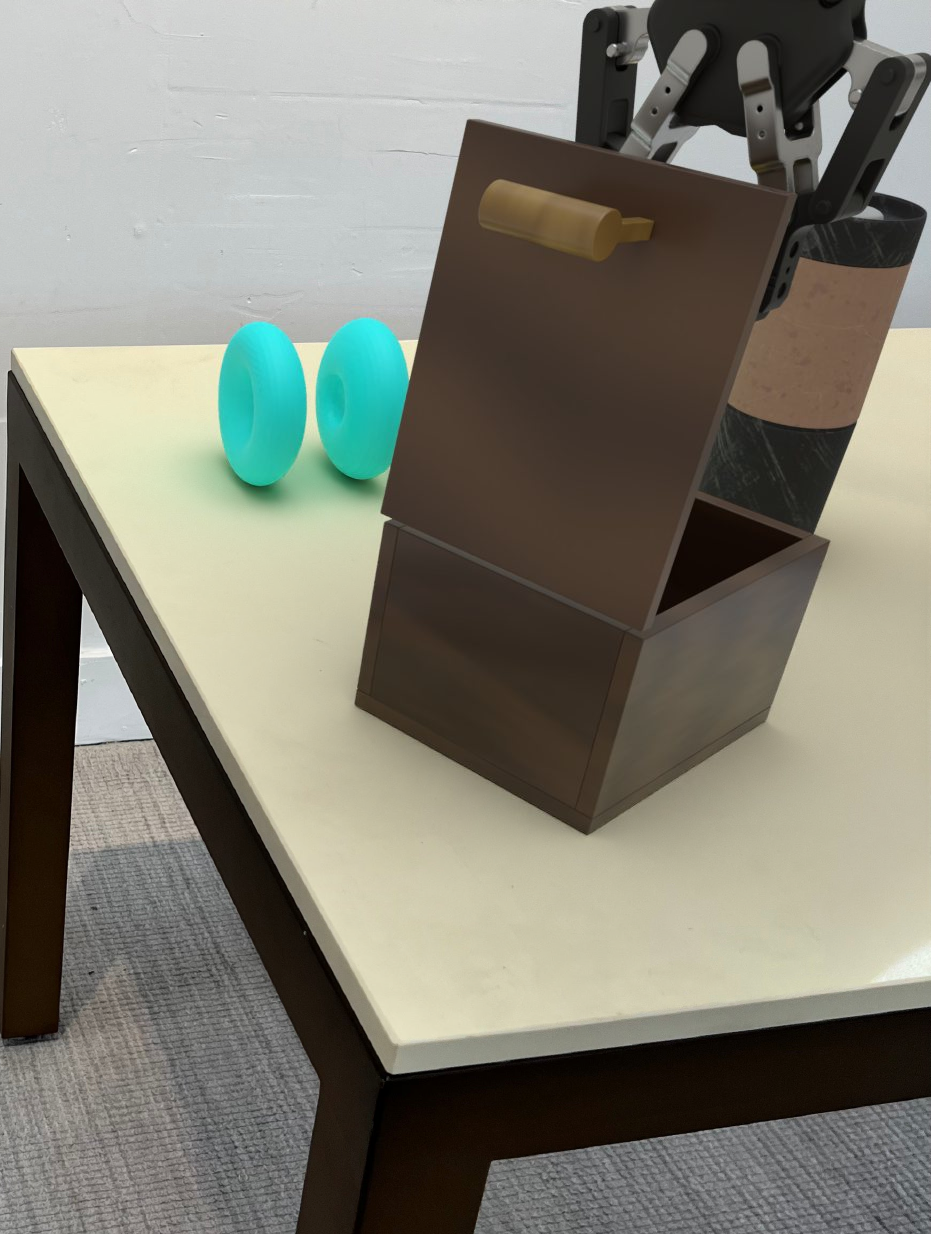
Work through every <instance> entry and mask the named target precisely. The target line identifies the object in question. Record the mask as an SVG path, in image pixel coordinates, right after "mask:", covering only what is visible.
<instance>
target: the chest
mask: <svg viewBox="0 0 931 1234" xmlns="http://www.w3.org/2000/svg"><path fill="white" fill-rule="evenodd" d="M830 544H831V540H830V539H828V538H826V537H822V536H820V535H817V534H815V533H814V534H811V533H809V532H806V531H803V530H801V529H798V528H796V527H793V526H790V525H788V524H785V523H782V522H780V521H777V520H774V519H772V518H769V517H767V516H764V515H761V514H759V513H756V512H753V511H751V510H748V509H745V508H743V507H740V506H737V505H735V504H732V503H730V502H727V501H724V500H722V499H719V498H716V497H714V496H711V495H708V494H706V493H703V492H700V491H697V494H696V497H695V500H694V503H693V506H692V509H691V512H690V515H689V518H688V521H687V524H686V527H685V530H684V532H683V535H682V538H681V541H680V544H679V547H678V550H677V553H676V556H675V559H674V562H673V565H672V568H671V571H670V574H669V577H668V580H667V583H666V586H665V589H664V592H663V595H662V597H661V600H660V603H659V606H658V609H657V612H656V615H655V618H654V621H653V624H652V627H651V628H650V629H647V630H645V631H639V630H636V629H634V628H632V627H630V626H628V625H625V624H623V623H621V622H619V621H617V620H614V619H612V618H610V617H608V616H606V615H603V614H601V613H599V612H597V611H595V610H592V609H590V608H588V607H586V606H583V605H581V604H579V603H577V602H575V601H572V600H570V599H568V598H566V597H564V596H561V595H559V594H557V593H555V592H553V591H550V590H548V589H546V588H544V587H542V586H539V585H537V584H535V583H533V582H531V581H528V580H526V579H524V578H522V577H520V576H517V575H515V574H513V573H511V572H509V571H506V570H504V569H502V568H500V567H498V566H495V565H493V564H491V563H489V562H486V561H484V560H482V559H480V558H478V557H475V556H473V555H471V554H469V553H467V552H464V551H462V550H460V549H458V548H456V547H453V546H451V545H449V544H447V543H445V542H442V541H440V540H438V539H436V538H434V537H431V536H429V535H427V534H425V533H423V532H420V531H418V530H416V529H414V528H412V527H409V526H407V525H405V524H403V523H400V522H398V521H396V520H394V519H392V518H390V519H388V520H384V522H383V526H382V532H381V538H380V544H379V551H378V557H377V563H376V569H375V575H374V580H373V581H374V582H373V586H372V593H371V599H370V605H369V611H368V619H367V623H366V624H367V625H366V630H365V636H364V642H363V647H362V654H361V659H360V660H361V661H360V667H359V673H358V679H357V686H356V691H355V698H354V705H355V706H357V707H359V708H361V709H363V710H364V711H366V712H368V713H369V714H371V715H373V716H374V717H376V718H378V719H380V720H381V721H383V722H386V723H387V724H389V725H391V726H392V727H395V728H396V729H398V730H400V731H401V732H404V733H405V734H407V735H409V736H411V737H412V738H414V739H416V740H418V741H420V742H421V743H423V744H425V745H426V746H428V747H430V748H432V749H434V750H435V751H437V752H439V753H440V754H443V755H445V756H446V757H448V758H449V759H452V760H453V761H455V762H457V763H458V764H460V765H462V766H464V767H466V768H467V769H469V770H471V771H472V772H475V773H476V774H478V775H480V776H482V777H483V778H485V779H487V780H489V781H490V782H492V783H495V784H496V785H497V786H499V787H502V788H503V789H505V790H507V791H509V792H510V793H512V794H514V795H516V796H517V797H519V798H521V799H523V800H524V801H526V802H529V804H532V805H533V806H535V807H536V808H539V809H541V810H542V811H544V812H546V813H548V814H549V815H551V816H553V817H555V818H557V819H558V820H560V821H562V822H564V823H566V824H567V825H569V826H571V827H572V828H575V830H578V831H579V832H582V833H583V834H585V835H590V834H591V833H592V832H594V831H596V830H597V829H598V828H600V827H602V826H603V825H605V824H606V823H608V822H610V821H612V819H614V818H616V817H618V816H619V815H620V814H622V813H624V812H625V811H627V810H628V809H629V808H631V807H633V806H635V804H638V803H639V802H641V801H642V800H644V799H645V798H647V797H648V796H650V795H652V794H653V793H655V792H656V791H657V790H660V789H661V788H663V787H664V786H666V785H667V784H669V783H670V782H672V781H674V780H675V779H677V778H678V777H679V776H681V775H683V774H684V773H686V772H687V771H689V770H690V769H692V768H694V767H695V766H697V765H698V764H700V763H702V762H703V761H704V760H706V759H708V758H709V757H710V756H712V755H714V754H716V753H717V752H719V751H720V750H722V749H724V747H726V746H728V745H730V744H732V743H733V742H735V741H736V740H738V739H739V738H740V737H742V736H744V735H745V734H747V733H748V732H750V731H751V730H753V729H754V728H756V727H757V726H759V725H761V724H762V723H763V722H765V721H767V720H768V717H769V714H770V711H771V709H772V705H773V704H774V701H775V698H776V695H777V692H778V689H779V687H780V684H781V681H782V678H783V676H784V673H785V670H786V667H787V664H788V661H789V659H790V656H791V653H792V652H793V651H792V650H793V647H794V645H795V642H796V639H797V636H798V633H799V631H800V628H801V625H802V623H803V621H804V620H803V619H804V617H805V615H806V611H807V609H808V605H809V603H810V600H811V598H812V594H813V591H814V590H815V586H816V583H817V580H818V578H819V575H820V572H821V570H822V567H823V563H824V561H825V558H826V555H827V553H828V550H829V547H830Z"/></svg>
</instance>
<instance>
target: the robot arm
mask: <svg viewBox="0 0 931 1234" xmlns="http://www.w3.org/2000/svg"><path fill="white" fill-rule="evenodd" d="M866 2H867V0H654V1H653V2H652V4H651V6H649V7H637V6H635V5H631V4H629V5H628V4H627V5H621V4H620V5H618V4H617V5H608V6H603V7H599V8H597V7H596V8H592V9H591V10H590V11H589V12H588V13H586V15H585V17H584V19H583V22H582V28H581V30H582V31H581V43H580V45H581V46H580V59H579V75H578V89H577V90H578V91H577V105H576V122H575V135H574V142H579V143H583V144H587V145H591V146H596V147H600V148H604V149H608V150H613V151H617V152H621V153H625V154H630V155H634V156H638V157H642V158H647V159H651V160H655V161H659V162H664V163H668V164H671V163H672V162H673V161H674V159H675V157H676V156H677V154H678V152H680V150H681V149H682V147H683V145H684V144H685V143H686V142H687V141H689V140H690V139H691V138H693V137H694V136H695V135H696V133H697V132H698V131H699V130H700V128H701V127H711V126H715V127H717V128H720V129H721V130H723V131H724V132H726V133H728V134H730V135H731V136H736V137H740V138H746V142H747V143H746V144H747V154H748V155H747V156H748V163H749V166H750V169H751V170H752V171H754V173H755V175H756V181H757V185H762V186H766V187H770V188H774V189H779V190H783V191H787V192H791V193H796V194H797V199H796V201H795V204H794V207H793V210H792V213H791V216H790V219H789V222H788V225H787V228H786V231H785V234H784V237H783V240H782V243H781V246H780V249H779V252H778V255H777V258H776V261H775V264H774V266H773V269H772V272H771V275H770V278H769V281H768V284H767V287H766V290H765V293H764V296H763V299H762V302H761V305H760V308H759V311H758V314H757V317H756V320H755V322H756V321H759V320H762V319H764V318H765V317H766V316H767V315H768V314H769V312H770V311H771V310H774V309H776V308H779V307H780V306H781V305H782V304H783V302H784V301H785V300H786V298H787V297H788V294H789V291H790V288H791V284H792V281H793V278H794V275H795V271H796V268H797V265H798V261H799V258H800V255H801V252H802V248H803V245H804V242H805V239H806V236H807V233H808V232H809V230H810V229H811V228H812V227H813V226H814V225H815V224H827V223H831V222H834V221H838V220H841V219H845V218H848V217H852V216H855V215H858V214H860V213H862V212H863V211H864V210H865V209H866V207H867V206H868V204H869V202H870V200H871V198H872V196H873V194H874V192H876V190H877V188H878V186H879V184H880V182H881V181H882V178H883V177H884V174H885V172H886V170H887V169H888V166H889V165H890V163H891V160H892V159H893V157H894V155H895V153H896V151H897V149H898V147H899V145H900V143H901V141H902V139H903V137H904V136H905V133H906V131H907V129H908V127H909V125H910V124H911V121H912V120H913V117H914V116H915V113H916V112H917V110H918V108H919V106H920V104H921V102H922V100H923V98H924V96H925V94H926V93H927V90H928V88H929V86H930V84H931V54H929V53H927V52H915V53H909V54H903V53H901V52H898V51H896V50H894V49H892V48H888V47H886V46H884V45H881V44H878V43H876V42H873V41H871V40H869V39H868V28H867V23H866ZM649 43H650V46H651V49H652V52H653V55H654V59H655V62H656V65H657V68H658V73H659V78H658V79H657V81H656V82H655V84H654V86H653V87H652V89H651V91H650V92H649V93H648V95H647V96H646V98H645V100H644V101H643V103H642V105H641V107H640V108H639V109H638V111H637V112H636V114H635V102H636V89H637V78H638V77H637V76H638V63H639V62H641V60H643V58H644V57H645V54H646V52H647V51H648V50H649ZM847 73H848V74H849V76H850V79H851V81H850V83H851V84H850V88H849V91H848V95H847V101H848V105H849V107H850V108H851V110H852V111H853V112H852V114H851V116H850V118H849V120H848V122H847V123H846V126H845V128H844V131H843V132H842V135H841V136H840V138H839V141H838V143H837V144H836V147H835V149H834V151H833V153H832V155H831V158H830V159H829V161H828V163H827V166H826V167H825V170H824V172H823V174H822V176H821V178H819V177H820V176H819V165H818V164H819V162H818V161H819V157H820V156H821V153H822V150H823V133H822V132H823V131H822V118H821V117H822V116H821V105H820V103H821V102H820V99H821V98H822V97H823V96H824V95H825V94H826V93H827V92H829V90H830V89H831V88H832V87H833V86H835V84H837V83H838V82H839V81H840V80H841V79H842V78H843V77H844V76H845V75H846V74H847ZM634 115H635V116H634Z"/></svg>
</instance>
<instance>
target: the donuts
mask: <svg viewBox="0 0 931 1234" xmlns="http://www.w3.org/2000/svg"><path fill="white" fill-rule="evenodd" d="M402 348H403V347H402V346H401V344H400V342H399V340H398V338H397V336H396V335H395V333H394V332H393V331H392V330H391V329H390V328H389V326H388V325H386V324H385V323H384V322H382V321H380V320H378V319H375V318H371V317H359V318H355V319H352V320H350V321H349V322H346V323H345V324H343V325H342V326H341V327H340V328H339V329H338V330H337V331H336V332H335V333H334V334H333V336H332V337H331V338H330V340H329V342H328V343H327V345H326V347H325V350H324V351H323V354H322V357H321V359H320V363H319V367H318V371H317V375H316V376H317V377H316V382H315V395H314V396H315V397H314V398H315V399H314V402H315V403H314V404H315V418H316V425H317V431H318V433H319V434H318V435H319V437H320V440H321V443H322V446H323V449H324V451H325V453H326V455H327V457H328V459H329V460H330V462H331V463H332V464H333V466H334V467H335V468H336V469H338V471H340V473H342V474H343V475H345V476H347V477H350V478H352V479H354V480H355V479H356V480H362V481H363V480H370V479H374V478H376V477H379V476H381V475H382V474H384V473H385V472H386V471H387V470H388V469H390V466H391V462H392V457H393V453H394V448H395V444H396V439H397V434H398V430H399V425H400V421H401V416H402V412H403V407H404V403H405V398H406V394H407V389H408V385H409V380H410V376H409V370H408V366H407V365H408V364H407V361H406V358H405V354H404V351H403V349H402ZM218 377H219V378H218V390H217V391H218V392H217V398H218V399H217V411H218V423H219V424H218V425H219V430H220V437H221V442H222V445H223V449H224V453H225V455H226V459H227V461H228V463H229V465H230V467H231V469H232V470H233V472H234V473H235V474H236V475H237V476H238V478H240V479H241V480H242V481H243V482H245V483H247V484H249V485H251V486H256V487H265V486H268V485H273V484H274V483H276V482H278V481H279V480H281V479H282V478H284V476H285V475H286V474H288V472H289V471H290V470H291V468H292V467H293V465H294V463H295V462H296V459H297V458H298V455H299V453H300V451H301V448H302V444H303V441H304V438H305V432H306V431H305V430H306V425H307V415H308V414H307V413H308V395H307V386H306V385H307V384H306V377H305V372H304V368H303V365H302V360H301V359H300V356H299V354H298V351H297V348H296V347H295V345H294V343H293V342H292V340H291V339H290V337H289V336H288V335H287V334H286V333H285V332H284V331H283V330H282V329H280V327H278V326H277V325H274V324H272V323H271V322H266V321H252V322H250V323H249V322H248V323H247V324H245V325H244V326H242V327H240V328H239V329H238V330H237V331H236V332H235V333H234V334H233V336H232V337H231V339H229V342H228V344H227V346H226V348H225V352H224V354H223V356H222V363H221V366H220V371H219V376H218Z"/></svg>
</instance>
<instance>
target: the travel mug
mask: <svg viewBox="0 0 931 1234" xmlns="http://www.w3.org/2000/svg"><path fill="white" fill-rule="evenodd" d="M927 218H928V211H927V210H926V209H925V208H924V207H923V206H921V205H920V204H918V203H916V202H914V201H910V200H907V199H905V198H902V197H898V196H896V195H891V194H886V193H882V192H878V191H875V192H874V194H873V196H872V198H871V200H870V202H869V204H868V206H867V207H866V209H865V210H864V211H863V212H862V213H860V214H858V215H855V216H852V217H848V218H845V219H841V220H838V221H834V222H831V223H827V224H815V225H814V226H813V227H812V228H811V229H810V230H809V232H808V233H807V236H806V239H805V242H804V245H803V248H802V252H801V255H800V258H799V261H798V265H797V268H796V271H795V275H794V278H793V281H792V284H791V288H790V291H789V294H788V297H787V298H786V300H785V301H784V302H783V304H782V305H781V306H780V307H779V308H776V309H774V310H771V311H770V312H769V314H768V315H767V316H766V317H765V318H764V319H762V320H759V321H756V322H755V323H754V326H753V329H752V332H751V334H750V337H749V340H748V343H747V346H746V349H745V352H744V355H743V358H742V361H741V364H740V367H739V370H738V373H737V376H736V379H735V382H734V385H733V388H732V391H731V394H730V397H729V399H728V402H727V405H726V408H725V411H724V414H723V417H722V420H721V423H720V426H719V429H718V432H717V435H716V438H715V441H714V444H713V447H712V450H711V453H710V456H709V459H708V462H707V465H706V467H705V470H704V473H703V476H702V479H701V482H700V485H699V488H698V491H700V492H703V493H706V494H708V495H711V496H714V497H716V498H719V499H722V500H724V501H727V502H730V503H732V504H735V505H737V506H740V507H743V508H745V509H748V510H751V511H753V512H756V513H759V514H761V515H764V516H767V517H769V518H772V519H774V520H777V521H780V522H782V523H785V524H788V525H790V526H793V527H796V528H798V529H801V530H803V531H806V532H809V533H811V534H815V532H816V529H817V527H818V524H819V522H820V519H821V517H822V513H823V512H824V508H825V507H826V503H827V501H828V499H829V496H830V494H831V491H832V488H833V486H834V484H835V481H836V478H837V475H838V473H839V470H840V467H841V466H842V462H843V460H844V457H845V455H846V452H847V450H848V447H849V445H850V442H851V440H852V437H853V434H854V431H855V429H856V427H857V424H858V420H859V419H860V416H861V413H862V410H863V407H864V404H865V401H866V399H867V397H868V392H869V390H870V386H871V384H872V381H873V378H874V375H875V372H876V369H877V366H878V364H879V360H880V357H881V354H882V352H883V349H884V347H885V346H884V345H885V343H886V340H887V337H888V335H889V331H890V329H891V325H892V322H893V319H894V316H895V314H896V310H897V308H898V304H899V303H900V298H901V296H902V292H903V290H904V287H905V284H906V281H907V278H908V275H909V272H910V270H911V267H912V264H913V260H914V257H915V255H916V251H917V250H918V246H919V243H920V240H921V238H922V235H923V231H924V228H925V226H926V222H927Z"/></svg>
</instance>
